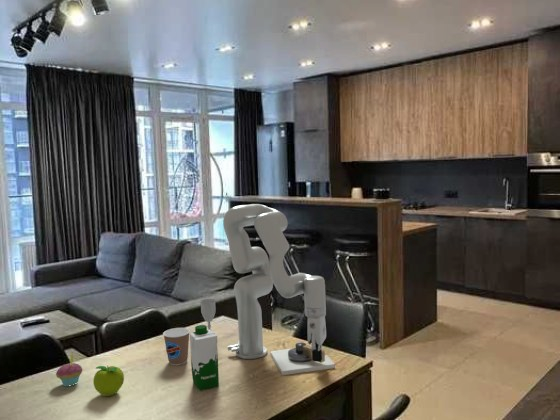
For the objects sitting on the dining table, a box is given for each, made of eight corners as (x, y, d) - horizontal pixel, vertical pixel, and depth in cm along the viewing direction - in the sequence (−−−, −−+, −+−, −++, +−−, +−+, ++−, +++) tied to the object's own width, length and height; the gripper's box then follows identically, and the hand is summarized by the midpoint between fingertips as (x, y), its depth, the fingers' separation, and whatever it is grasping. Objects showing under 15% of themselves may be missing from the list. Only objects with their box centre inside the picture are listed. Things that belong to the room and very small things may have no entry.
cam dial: (282, 357, 181) (282, 345, 181) (300, 350, 188) (300, 338, 188) (314, 369, 170) (313, 355, 169) (331, 360, 177) (331, 347, 176)
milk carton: (213, 377, 170) (210, 322, 169) (222, 386, 162) (219, 329, 161) (189, 382, 166) (186, 327, 165) (197, 393, 158) (194, 334, 157)
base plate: (282, 375, 169) (281, 370, 169) (270, 354, 189) (270, 350, 188) (334, 368, 174) (334, 363, 174) (318, 348, 193) (318, 344, 193)
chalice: (219, 338, 210) (217, 298, 209) (216, 343, 203) (214, 302, 202) (203, 338, 211) (201, 298, 209) (199, 344, 204) (197, 303, 203)
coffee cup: (159, 365, 183) (157, 335, 182) (174, 355, 192) (173, 326, 191) (181, 368, 179) (180, 337, 178) (196, 358, 188) (194, 328, 187)
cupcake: (88, 380, 172) (86, 348, 171) (71, 390, 164) (68, 357, 163) (69, 377, 174) (67, 346, 174) (51, 387, 166) (48, 354, 166)
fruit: (107, 403, 153) (105, 373, 153) (89, 396, 158) (87, 367, 158) (130, 391, 161) (128, 363, 160) (112, 385, 166) (110, 358, 165)
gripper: (321, 317, 161) (323, 369, 163) (329, 305, 176) (331, 353, 177) (299, 316, 164) (301, 367, 165) (310, 304, 178) (312, 352, 179)
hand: (317, 360), depth 171 cm, fingers closed
